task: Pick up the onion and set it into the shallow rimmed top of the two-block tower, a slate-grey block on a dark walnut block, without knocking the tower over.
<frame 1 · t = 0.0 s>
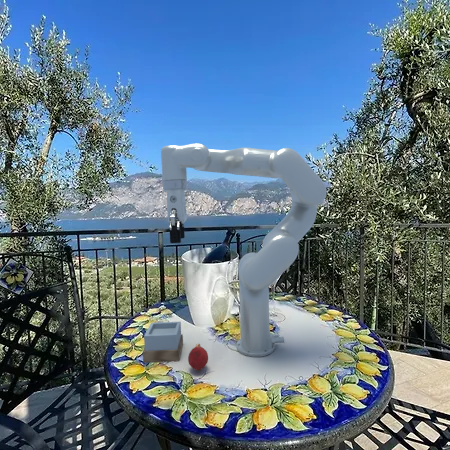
hand: (177, 240, 98), 37 cm above the table, tool pointing down, fingers open, 9 cm apart
grey top block: (164, 342, 101), point 3 cm above the table
walnut base block: (164, 354, 101), on the table
onion: (198, 371, 90), on the table
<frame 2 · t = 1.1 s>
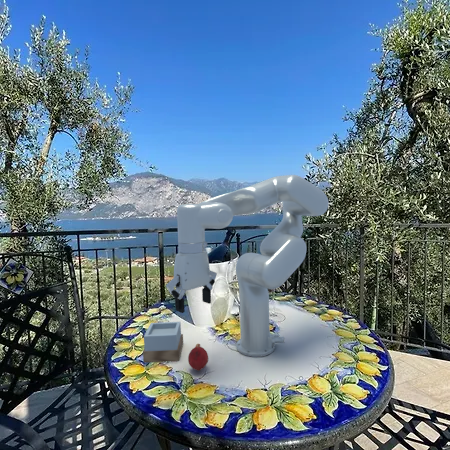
hand: (194, 306, 89), 19 cm above the table, tool pointing down, fingers open, 9 cm apart
grey top block: (163, 342, 100), point 4 cm above the table, touching walnut base block
walnut base block: (164, 354, 101), on the table, touching grey top block
everything else where it was.
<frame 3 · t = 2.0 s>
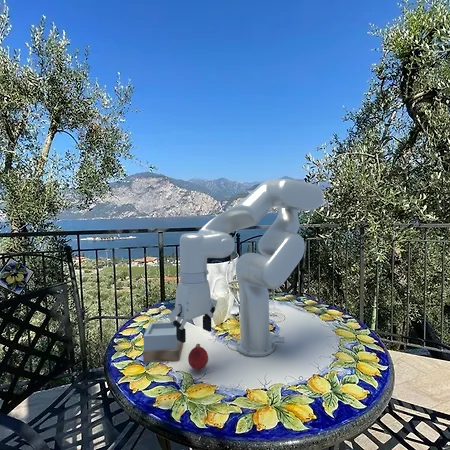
hand: (194, 335, 89), 11 cm above the table, tool pointing down, fingers open, 9 cm apart
nothing on the table moved.
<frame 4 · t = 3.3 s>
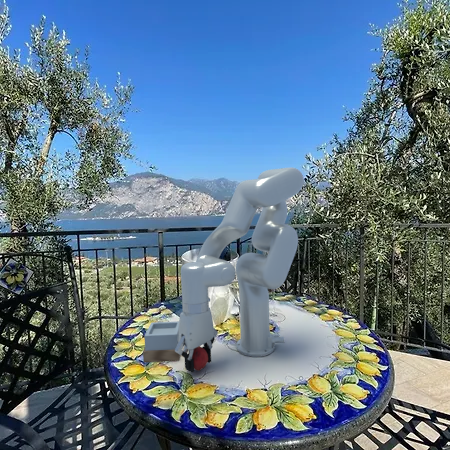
hand: (198, 365, 90), 2 cm above the table, tool pointing down, fingers closed on onion, 5 cm apart
onion: (198, 371, 90), on the table, touching gripper
everything else where it was.
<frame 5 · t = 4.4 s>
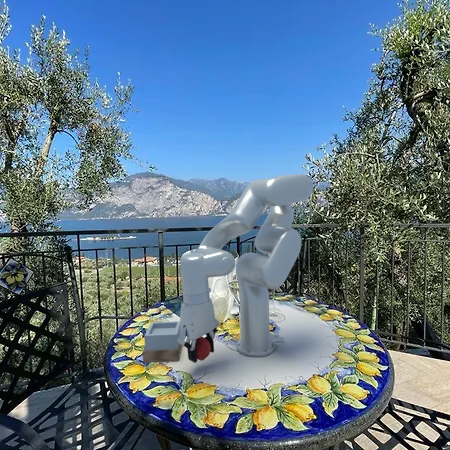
hand: (201, 355, 90), 4 cm above the table, tool pointing down, fingers closed on onion, 5 cm apart
onion: (202, 361, 91), point 2 cm above the table, touching gripper
everything else where it was.
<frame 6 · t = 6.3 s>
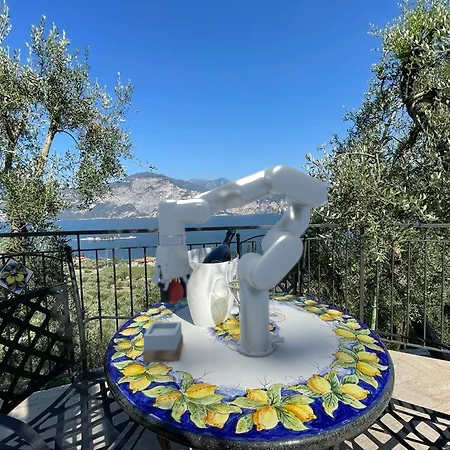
hand: (174, 298, 94), 20 cm above the table, tool pointing down, fingers closed on onion, 5 cm apart
onion: (174, 304, 94), point 18 cm above the table, touching gripper
everything else where it was.
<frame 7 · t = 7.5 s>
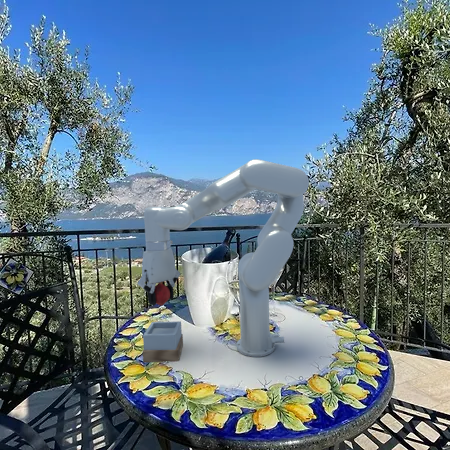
hand: (161, 300, 99), 18 cm above the table, tool pointing down, fingers closed on onion, 5 cm apart
onion: (161, 306, 99), point 16 cm above the table, touching gripper
everything else where it was.
when the fingers open (9 cm above the table, at t = 9.7 s): onion drops 1 cm, resting on grey top block.
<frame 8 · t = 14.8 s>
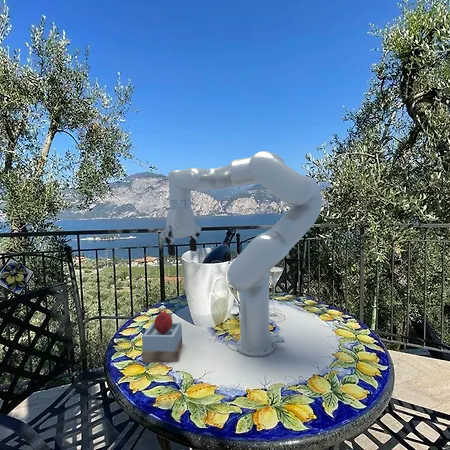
hand: (182, 253, 111), 30 cm above the table, tool pointing down, fingers open, 9 cm apart
grey top block: (163, 343, 100), point 3 cm above the table, touching onion, walnut base block
onion: (162, 334, 100), point 6 cm above the table, touching grey top block
everything else where it was.
at the end: onion inside the target area on the grey top block (0.1 cm from its centre), point 2.9 cm above the grey top block's base; grey top block 0.2 cm from the walnut base block (horizontally); walnut base block moved 0.6 cm from its start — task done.
